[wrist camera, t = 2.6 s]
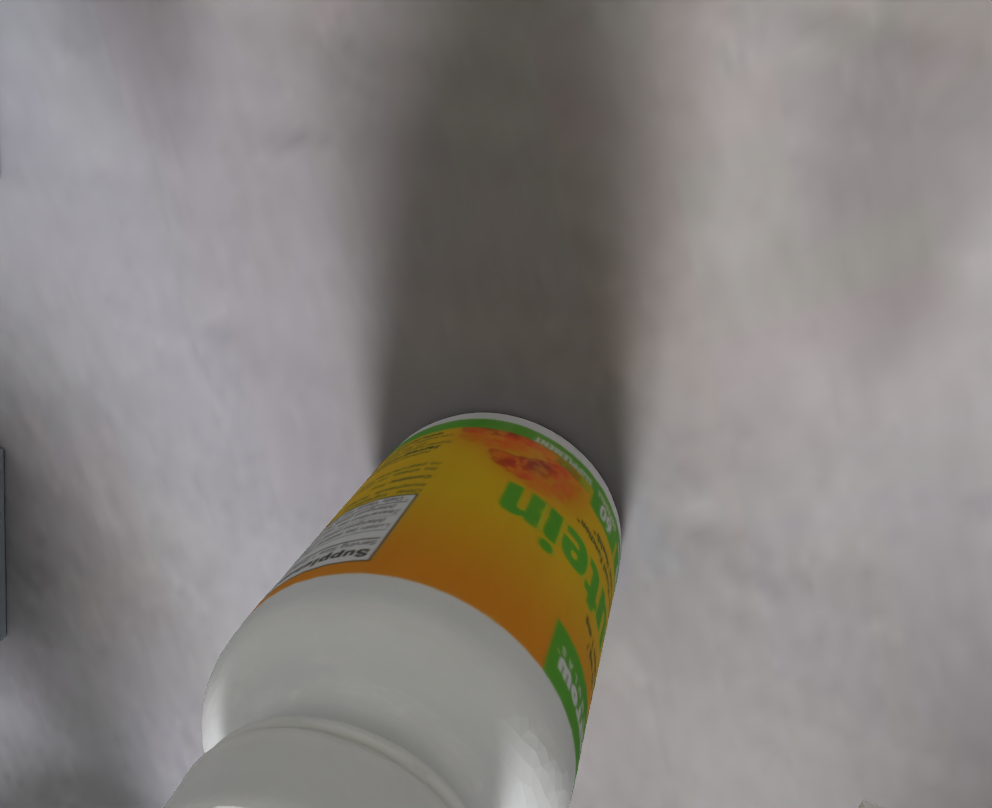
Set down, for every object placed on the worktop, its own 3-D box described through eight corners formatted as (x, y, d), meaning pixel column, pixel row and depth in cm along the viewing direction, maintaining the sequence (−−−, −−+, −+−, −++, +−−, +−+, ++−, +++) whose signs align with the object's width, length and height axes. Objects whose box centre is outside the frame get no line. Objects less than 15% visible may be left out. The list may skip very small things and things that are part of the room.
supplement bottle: (673, 578, 18) (629, 1085, 9) (464, 664, 20) (256, 1145, 11) (535, 359, 17) (326, 680, 8) (330, 473, 19) (-18, 831, 10)
